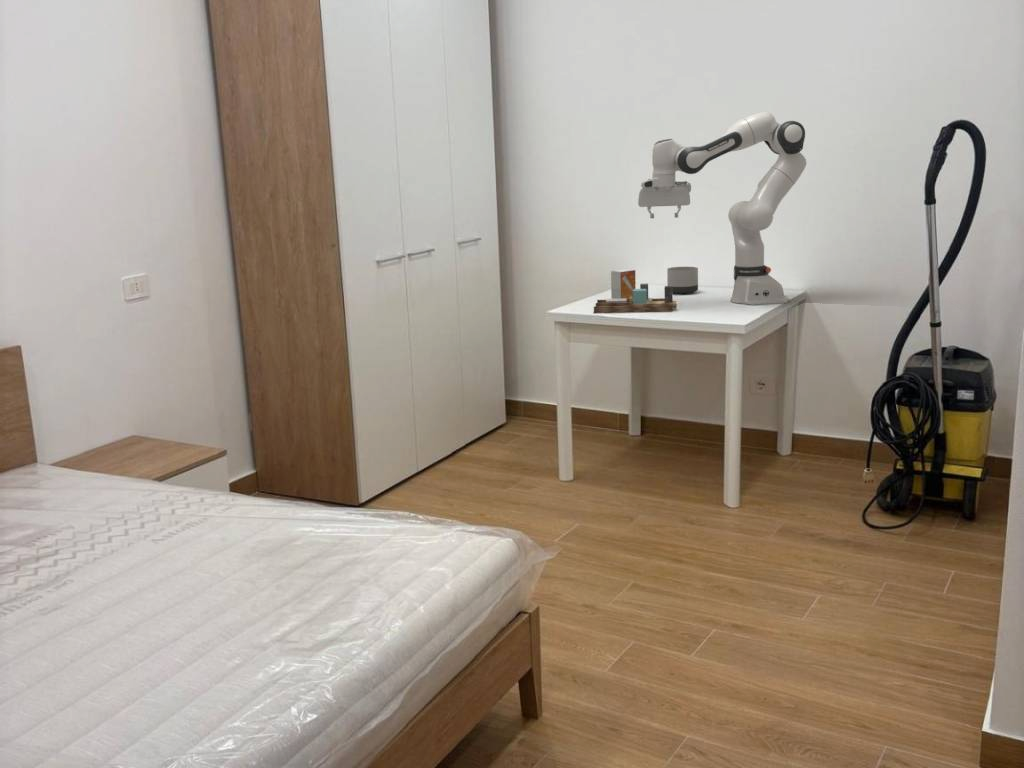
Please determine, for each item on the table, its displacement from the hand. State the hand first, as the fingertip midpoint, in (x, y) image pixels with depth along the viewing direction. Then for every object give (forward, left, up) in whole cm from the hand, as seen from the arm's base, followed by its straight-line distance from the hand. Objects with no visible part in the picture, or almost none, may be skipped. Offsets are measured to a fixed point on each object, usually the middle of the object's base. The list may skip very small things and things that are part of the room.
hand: (664, 217), depth 386 cm
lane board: (+12, +11, -34) cm, 38 cm away
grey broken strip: (+14, +7, -33) cm, 37 cm away
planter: (-7, -27, -34) cm, 44 cm away
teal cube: (+9, +15, -31) cm, 36 cm away
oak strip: (+4, +15, -33) cm, 37 cm away
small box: (+17, -7, -34) cm, 39 cm away
